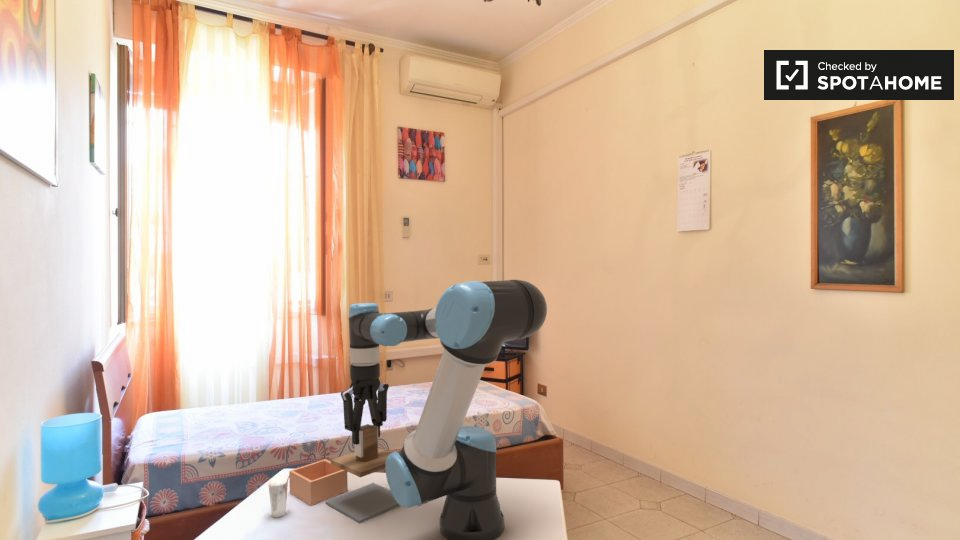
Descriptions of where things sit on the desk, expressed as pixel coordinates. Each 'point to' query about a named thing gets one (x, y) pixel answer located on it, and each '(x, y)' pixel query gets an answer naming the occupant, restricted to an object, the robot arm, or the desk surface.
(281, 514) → the milkshake
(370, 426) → the lid
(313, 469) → the open peach box
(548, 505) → the desk surface
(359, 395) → the robot arm
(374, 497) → the mat
